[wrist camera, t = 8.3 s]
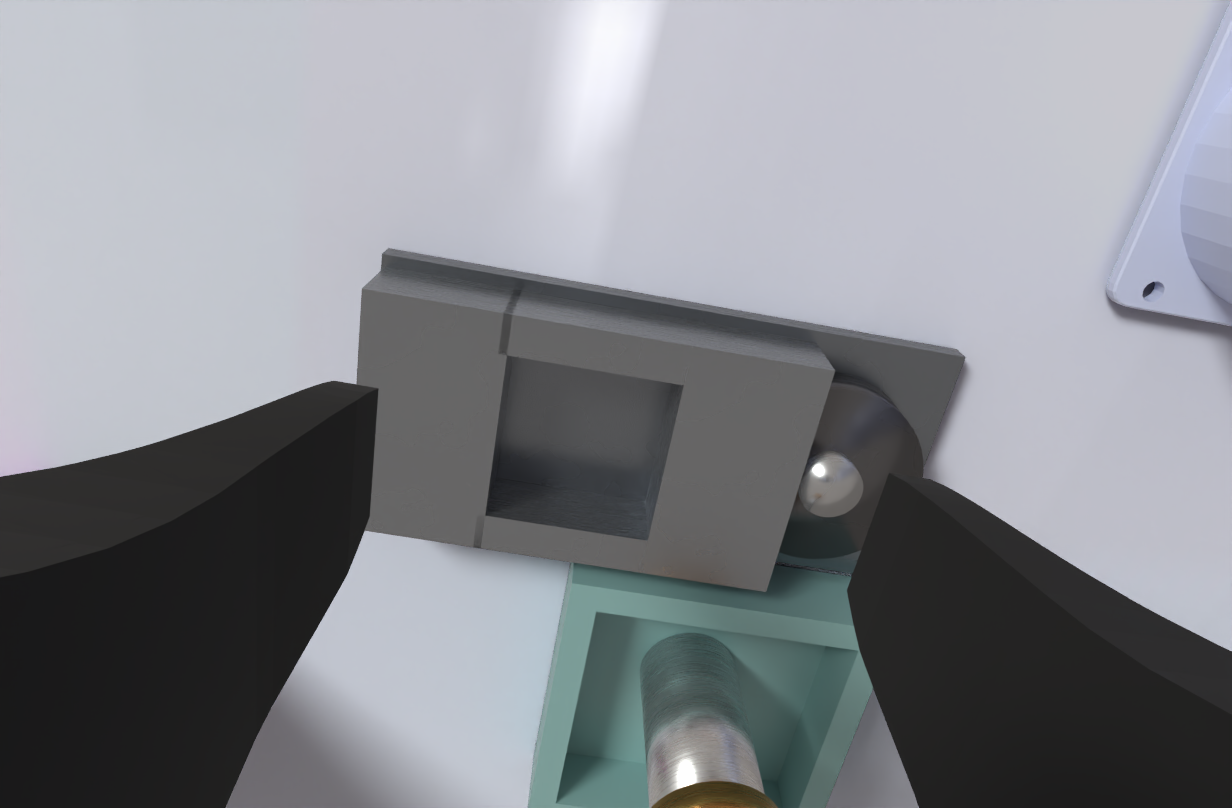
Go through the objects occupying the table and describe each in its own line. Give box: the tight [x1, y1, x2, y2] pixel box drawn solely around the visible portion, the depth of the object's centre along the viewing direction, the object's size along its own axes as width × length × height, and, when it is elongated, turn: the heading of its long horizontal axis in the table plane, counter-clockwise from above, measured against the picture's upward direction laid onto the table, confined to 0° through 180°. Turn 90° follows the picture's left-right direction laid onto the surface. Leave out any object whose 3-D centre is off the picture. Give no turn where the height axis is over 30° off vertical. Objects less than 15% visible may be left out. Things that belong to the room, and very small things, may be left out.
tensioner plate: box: [357, 248, 965, 592], centre depth 21 cm, size 15×7×3 cm, turn 80°
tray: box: [528, 562, 873, 808], centre depth 25 cm, size 9×9×2 cm
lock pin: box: [640, 633, 778, 808], centre depth 22 cm, size 4×4×7 cm
